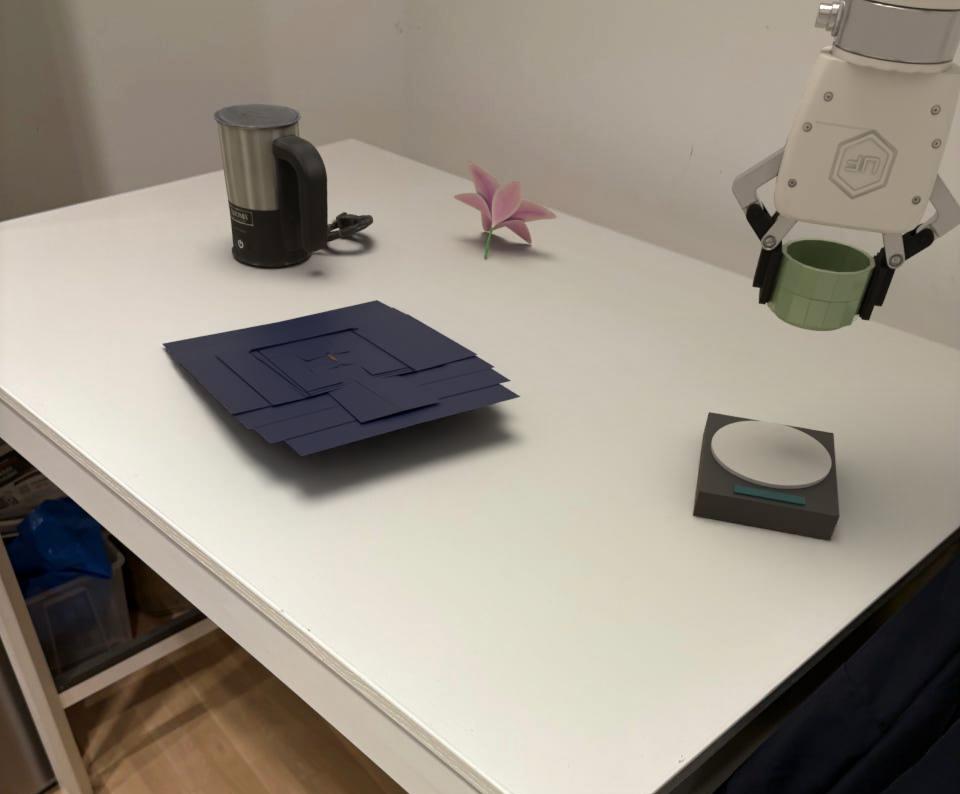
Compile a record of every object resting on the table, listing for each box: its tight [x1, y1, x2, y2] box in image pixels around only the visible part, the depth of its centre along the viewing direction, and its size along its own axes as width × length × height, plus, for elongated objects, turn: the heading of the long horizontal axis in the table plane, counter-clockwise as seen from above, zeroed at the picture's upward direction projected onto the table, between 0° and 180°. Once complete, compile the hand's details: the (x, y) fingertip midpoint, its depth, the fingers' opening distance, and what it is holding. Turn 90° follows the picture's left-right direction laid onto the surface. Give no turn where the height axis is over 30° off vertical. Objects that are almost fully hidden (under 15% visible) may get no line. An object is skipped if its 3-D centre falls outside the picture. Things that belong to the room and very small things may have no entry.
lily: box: [453, 160, 558, 260], centre depth 112 cm, size 12×12×10 cm
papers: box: [162, 299, 521, 457], centre depth 87 cm, size 24×30×4 cm
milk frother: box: [212, 102, 374, 268], centre depth 106 cm, size 14×16×15 cm
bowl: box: [766, 237, 876, 332], centre depth 70 cm, size 7×7×5 cm
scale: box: [692, 411, 840, 541], centre depth 79 cm, size 11×13×3 cm
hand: (813, 303), depth 71 cm, fingers closed on bowl, 6 cm apart
